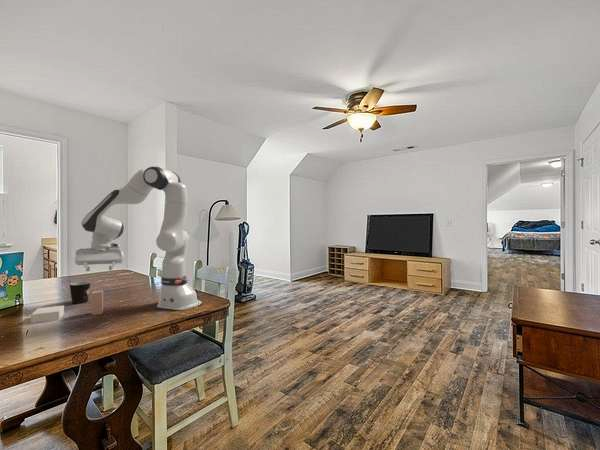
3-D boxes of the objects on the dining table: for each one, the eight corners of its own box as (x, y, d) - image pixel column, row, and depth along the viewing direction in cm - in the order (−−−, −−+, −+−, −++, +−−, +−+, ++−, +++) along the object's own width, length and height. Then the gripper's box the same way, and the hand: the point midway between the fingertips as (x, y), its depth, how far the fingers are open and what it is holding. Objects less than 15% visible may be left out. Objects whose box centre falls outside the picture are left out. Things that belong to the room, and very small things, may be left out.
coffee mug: (78, 305, 140) (78, 285, 139) (64, 303, 141) (65, 284, 141) (99, 298, 151) (99, 280, 151) (86, 297, 153) (86, 279, 153)
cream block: (63, 314, 128) (63, 305, 128) (58, 320, 120) (58, 311, 120) (37, 317, 124) (37, 308, 124) (30, 324, 116) (30, 314, 116)
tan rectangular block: (102, 311, 132) (103, 290, 132) (102, 313, 129) (102, 292, 129) (92, 312, 130) (92, 291, 130) (91, 315, 127) (91, 293, 127)
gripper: (75, 244, 140) (72, 267, 132) (123, 244, 151) (123, 265, 143) (76, 252, 144) (73, 275, 136) (123, 251, 155) (122, 272, 147)
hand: (99, 270), depth 140 cm, fingers open, 8 cm apart
